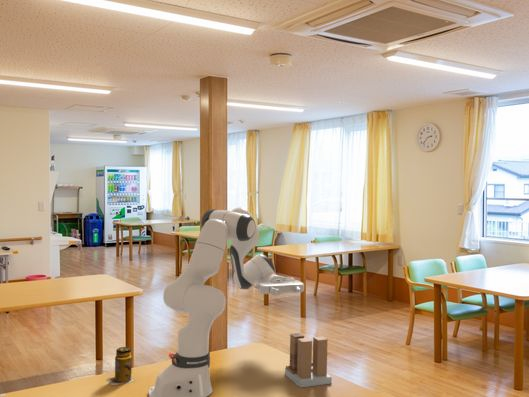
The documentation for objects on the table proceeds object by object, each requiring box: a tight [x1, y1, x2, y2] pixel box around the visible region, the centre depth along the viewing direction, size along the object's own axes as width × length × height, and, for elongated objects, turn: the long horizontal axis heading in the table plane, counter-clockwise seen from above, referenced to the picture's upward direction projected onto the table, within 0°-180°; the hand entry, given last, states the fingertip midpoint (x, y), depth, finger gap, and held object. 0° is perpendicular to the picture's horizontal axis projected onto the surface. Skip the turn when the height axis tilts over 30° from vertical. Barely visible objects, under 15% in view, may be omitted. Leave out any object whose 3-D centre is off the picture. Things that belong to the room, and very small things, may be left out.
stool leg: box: [289, 332, 305, 371], centre depth 197 cm, size 4×4×14 cm
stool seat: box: [284, 335, 333, 389], centre depth 195 cm, size 13×14×16 cm
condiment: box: [106, 346, 135, 386], centre depth 190 cm, size 7×8×12 cm
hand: (288, 291), depth 210 cm, fingers open, 8 cm apart
